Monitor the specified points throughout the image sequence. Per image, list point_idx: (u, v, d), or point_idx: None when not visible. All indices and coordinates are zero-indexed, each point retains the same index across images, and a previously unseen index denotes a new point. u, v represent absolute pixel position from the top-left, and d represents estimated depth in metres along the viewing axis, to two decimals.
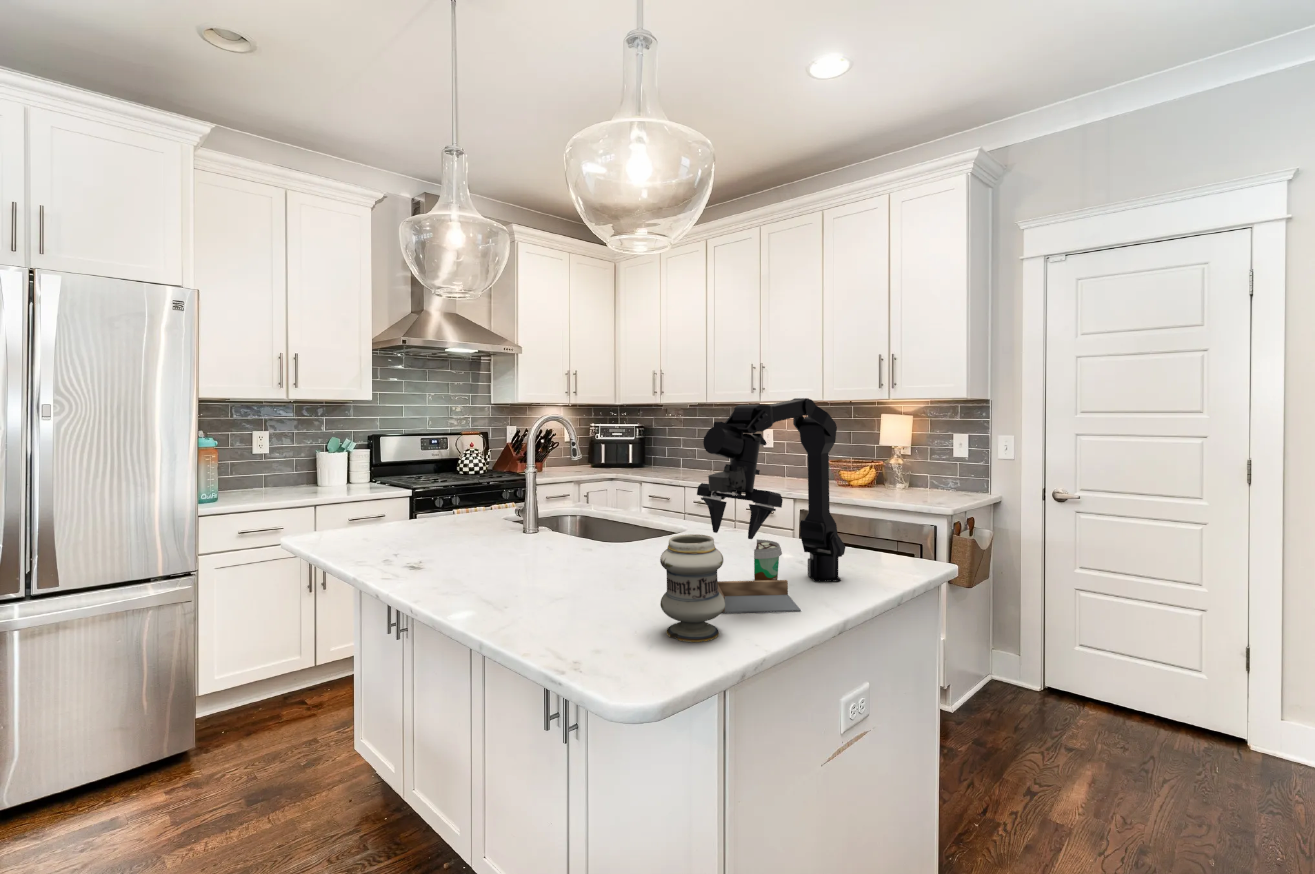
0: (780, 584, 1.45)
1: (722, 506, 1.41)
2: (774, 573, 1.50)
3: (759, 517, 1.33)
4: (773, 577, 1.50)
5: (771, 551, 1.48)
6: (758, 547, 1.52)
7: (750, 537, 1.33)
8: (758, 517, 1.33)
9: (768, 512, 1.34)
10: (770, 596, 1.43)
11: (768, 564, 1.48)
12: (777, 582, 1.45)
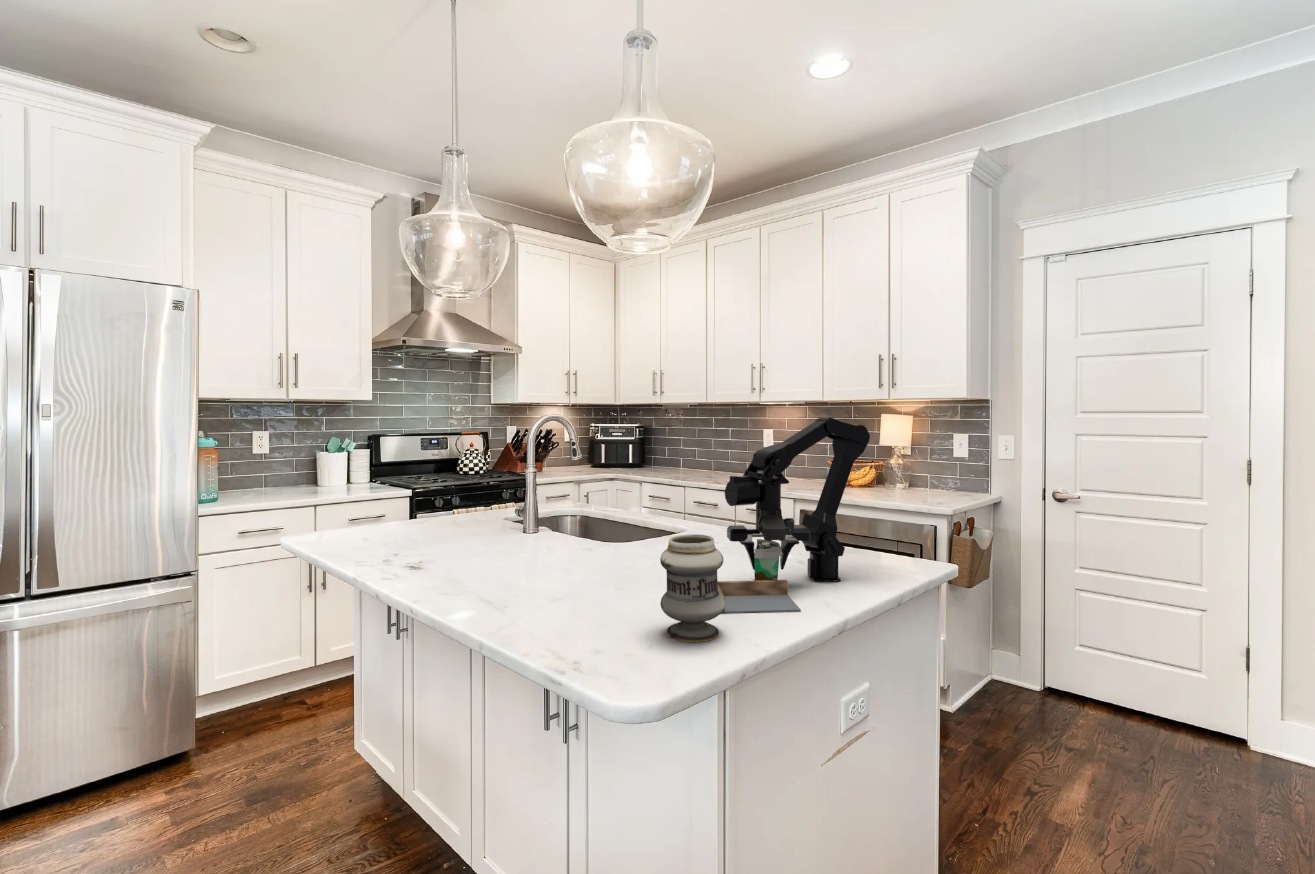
0: (780, 584, 1.45)
1: None
2: (774, 573, 1.50)
3: None
4: (773, 577, 1.50)
5: (771, 551, 1.48)
6: (758, 547, 1.52)
7: None
8: None
9: None
10: (770, 596, 1.43)
11: (769, 564, 1.48)
12: (777, 582, 1.45)
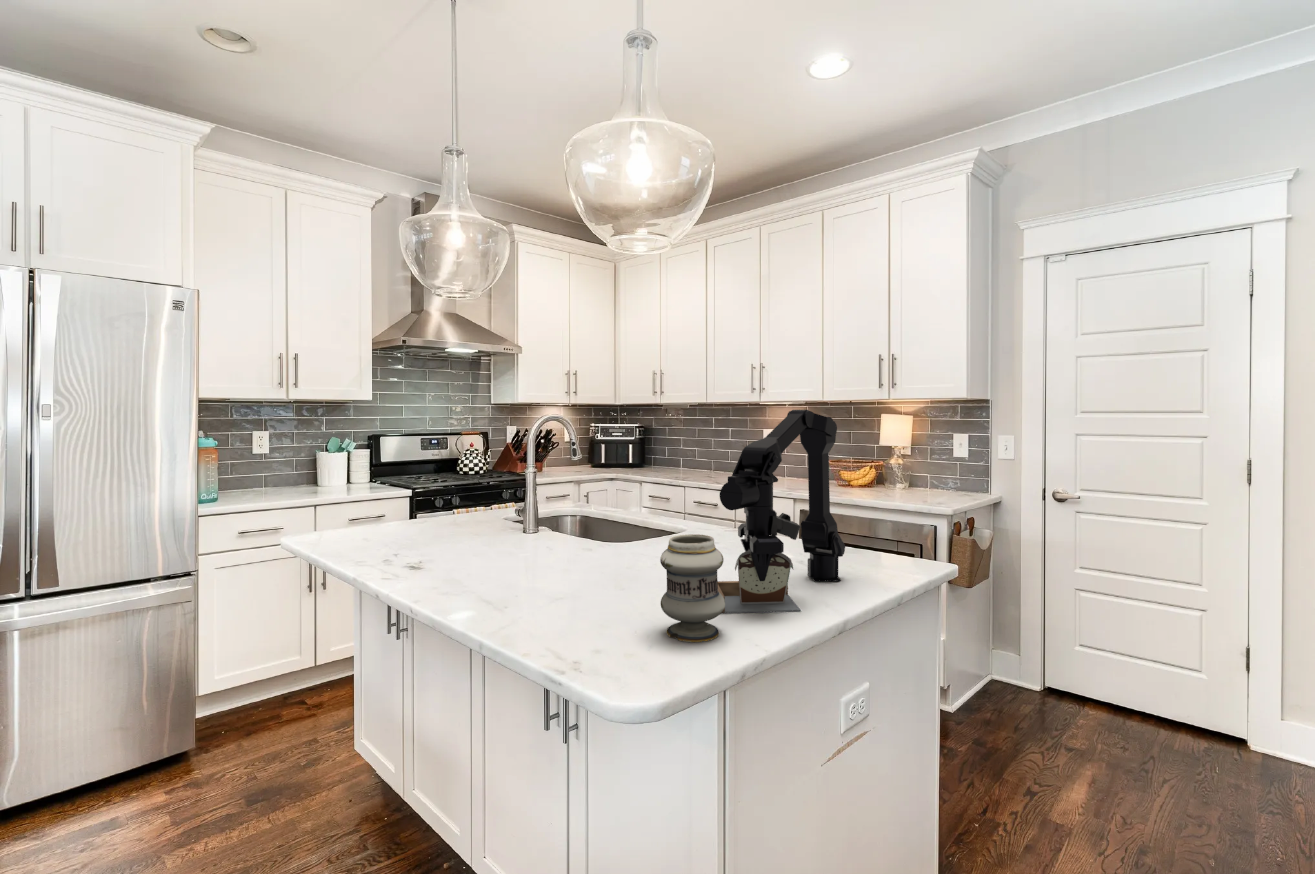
0: None
1: None
2: None
3: None
4: None
5: None
6: None
7: None
8: None
9: None
10: None
11: None
12: None
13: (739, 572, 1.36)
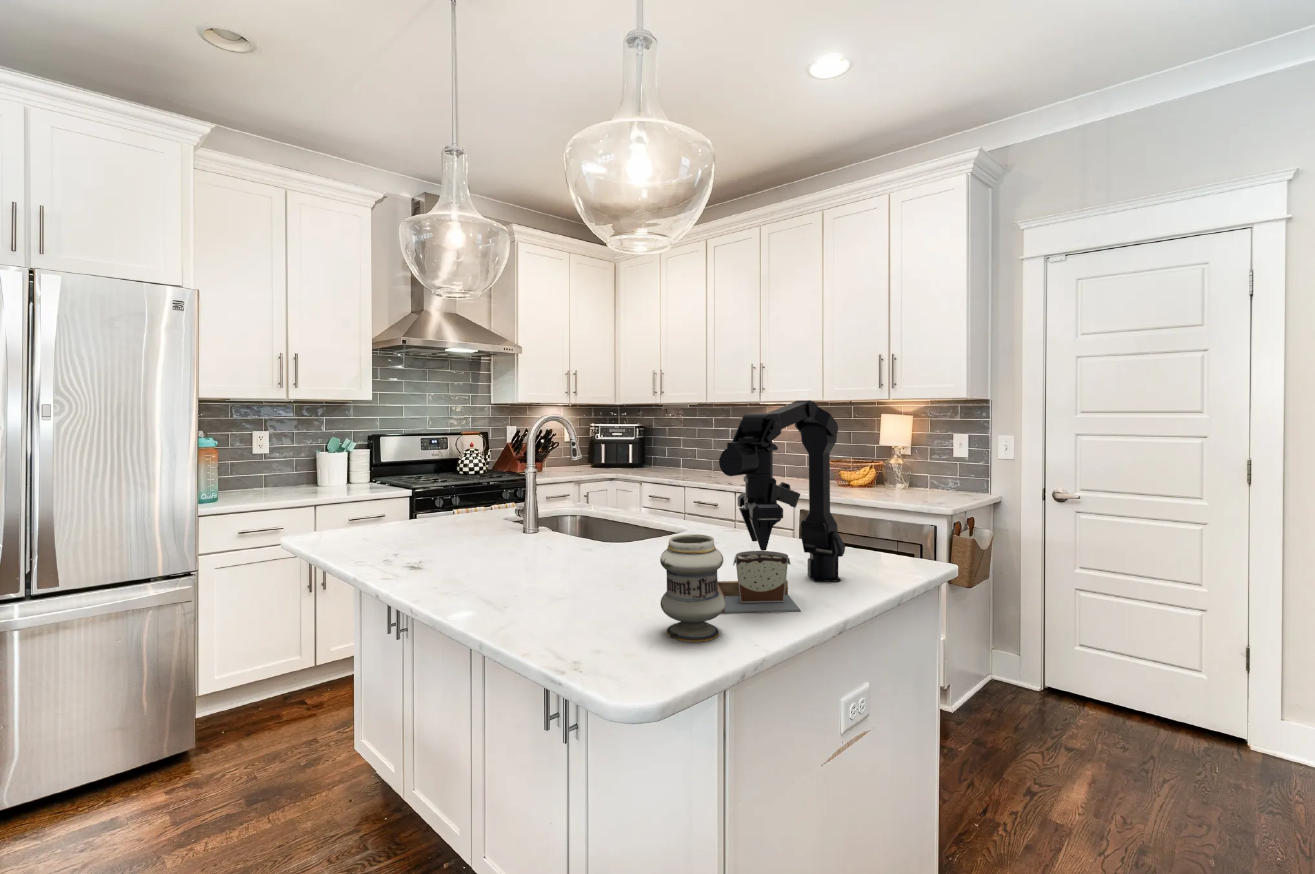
0: None
1: None
2: None
3: None
4: None
5: None
6: (764, 557, 1.39)
7: None
8: None
9: None
10: None
11: None
12: None
13: (737, 567, 1.38)
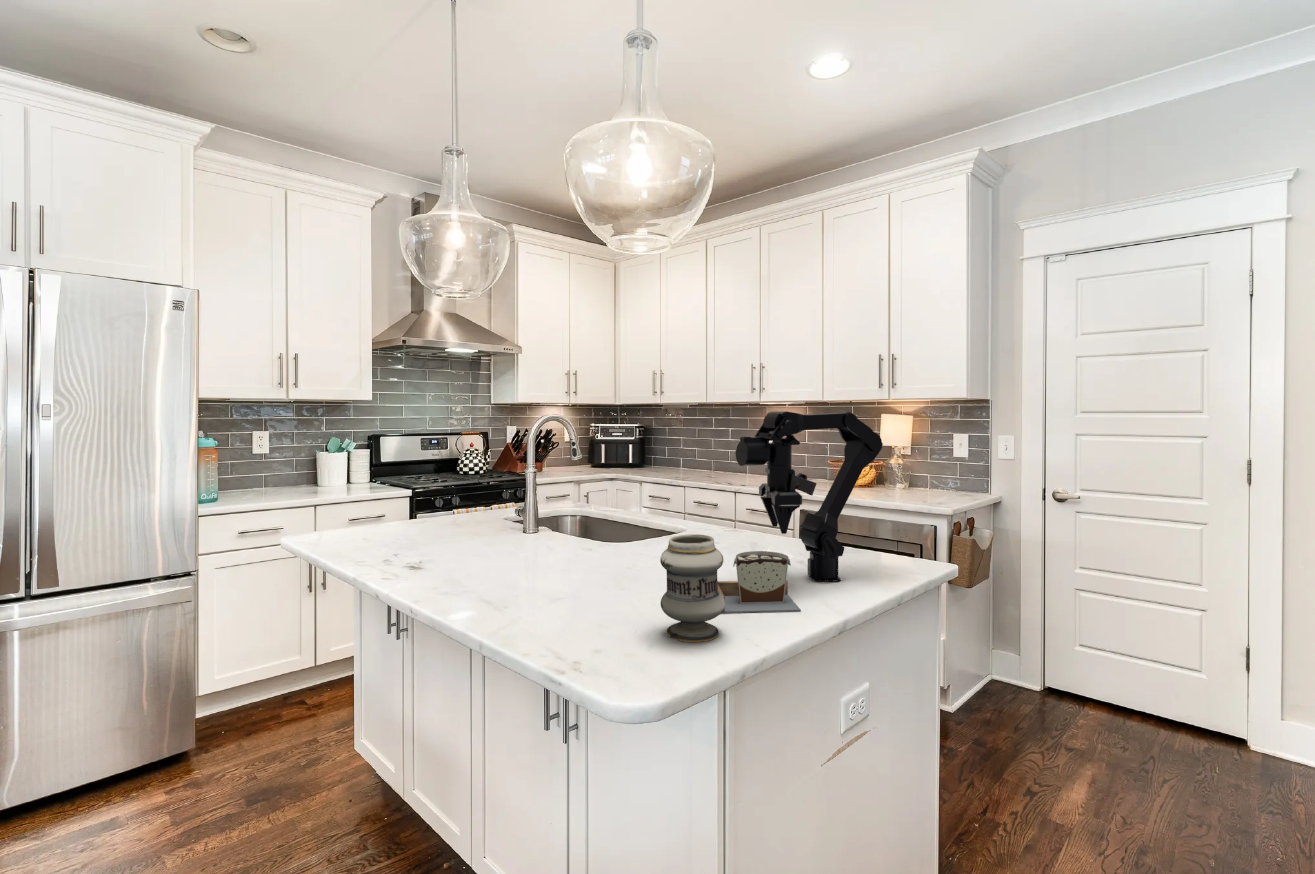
0: None
1: None
2: None
3: None
4: None
5: None
6: (765, 558, 1.39)
7: None
8: None
9: None
10: None
11: None
12: None
13: (737, 569, 1.38)
